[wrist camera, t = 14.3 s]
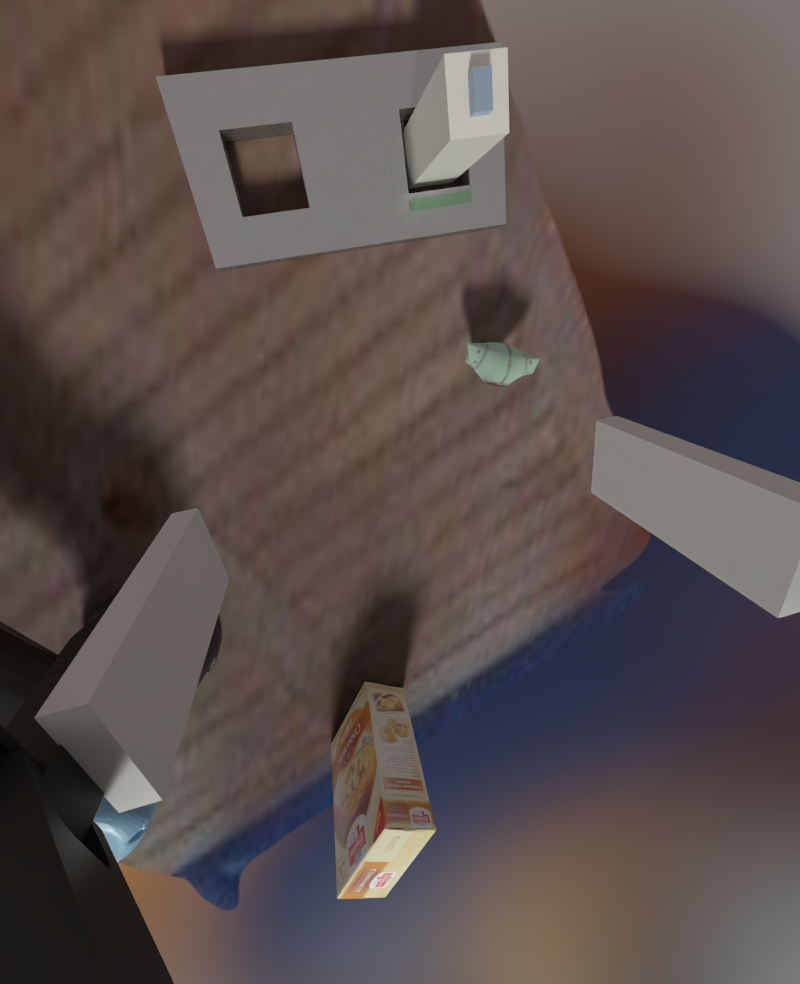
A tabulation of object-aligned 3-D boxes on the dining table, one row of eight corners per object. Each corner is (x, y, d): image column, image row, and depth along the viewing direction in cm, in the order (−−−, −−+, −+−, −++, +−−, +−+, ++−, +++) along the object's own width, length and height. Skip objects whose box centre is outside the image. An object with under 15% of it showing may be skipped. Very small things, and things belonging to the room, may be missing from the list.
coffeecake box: (363, 680, 61) (384, 828, 44) (405, 686, 63) (439, 830, 46) (328, 744, 66) (334, 901, 48) (368, 748, 68) (387, 899, 51)
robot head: (520, 347, 44) (553, 354, 38) (509, 384, 46) (538, 396, 40) (453, 332, 42) (477, 337, 36) (443, 371, 44) (465, 382, 38)
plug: (409, 188, 36) (454, 135, 25) (402, 131, 34) (447, 46, 23) (451, 183, 36) (514, 127, 25) (447, 126, 35) (513, 39, 23)
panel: (221, 271, 36) (215, 268, 33) (167, 93, 30) (154, 75, 28) (495, 228, 39) (507, 223, 36) (488, 59, 33) (502, 40, 31)
